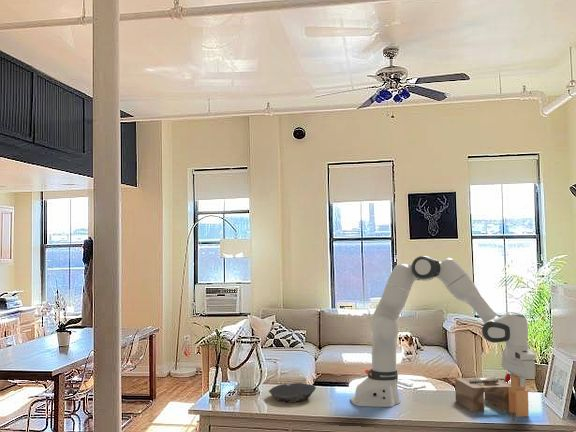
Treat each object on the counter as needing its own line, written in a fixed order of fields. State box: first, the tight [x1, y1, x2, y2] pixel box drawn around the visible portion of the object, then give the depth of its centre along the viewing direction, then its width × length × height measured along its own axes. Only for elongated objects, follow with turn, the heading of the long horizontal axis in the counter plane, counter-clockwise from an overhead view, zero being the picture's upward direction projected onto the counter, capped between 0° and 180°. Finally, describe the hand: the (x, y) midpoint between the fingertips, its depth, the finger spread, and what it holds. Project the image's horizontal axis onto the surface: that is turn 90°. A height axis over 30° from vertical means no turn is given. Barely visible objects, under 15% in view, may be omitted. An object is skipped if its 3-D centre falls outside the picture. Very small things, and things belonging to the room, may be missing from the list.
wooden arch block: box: [454, 376, 511, 413], centre depth 240 cm, size 19×17×12 cm
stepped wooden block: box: [508, 375, 529, 418], centre depth 227 cm, size 5×6×16 cm
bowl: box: [268, 382, 317, 404], centre depth 251 cm, size 22×22×5 cm
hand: (517, 384), depth 228 cm, fingers closed on stepped wooden block, 4 cm apart
